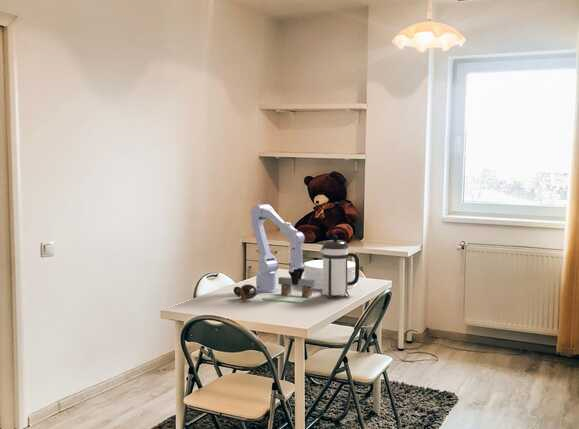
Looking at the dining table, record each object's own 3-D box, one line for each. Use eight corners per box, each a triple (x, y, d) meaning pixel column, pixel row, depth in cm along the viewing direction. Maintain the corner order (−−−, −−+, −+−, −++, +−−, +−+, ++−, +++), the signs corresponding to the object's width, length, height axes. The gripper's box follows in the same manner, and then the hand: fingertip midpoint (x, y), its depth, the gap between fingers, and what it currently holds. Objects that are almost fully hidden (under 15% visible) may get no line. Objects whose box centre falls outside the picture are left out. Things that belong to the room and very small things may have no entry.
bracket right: (301, 296, 306) (301, 286, 305) (306, 294, 311) (306, 284, 310) (307, 297, 304) (307, 287, 304) (311, 294, 310) (311, 284, 309)
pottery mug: (258, 298, 304) (260, 285, 300) (252, 310, 297) (254, 298, 292) (235, 291, 306) (236, 278, 301) (228, 303, 298) (229, 290, 294)
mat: (262, 299, 299) (262, 298, 299) (269, 296, 307) (269, 295, 306) (301, 303, 292) (301, 302, 291) (307, 299, 299) (307, 298, 299)
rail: (278, 284, 311) (278, 277, 311) (280, 283, 314) (281, 276, 314) (312, 287, 304) (312, 280, 304) (314, 286, 307) (314, 279, 307)
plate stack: (358, 290, 321) (359, 268, 320) (304, 290, 322) (304, 268, 321) (354, 280, 349) (354, 259, 348) (304, 279, 350) (304, 259, 349)
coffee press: (343, 301, 296) (344, 238, 294) (314, 297, 305) (314, 235, 302) (359, 294, 311) (360, 234, 308) (330, 290, 320) (331, 232, 317)
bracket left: (281, 294, 310) (281, 284, 309) (285, 292, 315) (285, 282, 315) (286, 295, 309) (286, 285, 308) (291, 293, 314) (291, 283, 313)
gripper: (298, 259, 300) (298, 287, 301) (309, 255, 313) (309, 282, 314) (285, 258, 303) (284, 286, 304) (296, 254, 316) (296, 281, 317)
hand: (296, 284), depth 309 cm, fingers closed on rail, 3 cm apart
